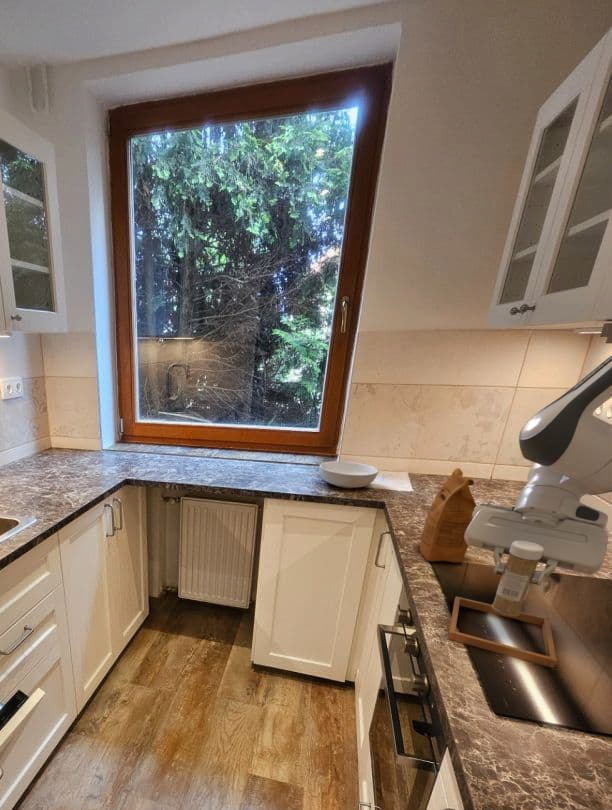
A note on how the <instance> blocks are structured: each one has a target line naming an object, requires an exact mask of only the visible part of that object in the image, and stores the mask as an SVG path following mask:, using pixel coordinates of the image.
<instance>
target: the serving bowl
mask: <svg viewBox="0 0 612 810" xmlns="http://www.w3.org/2000/svg"><path fill="white" fill-rule="evenodd" d="M318 469H319V470H318V471H319V475H320V477H321V478H322V479H323V480H324V481H325V482H327V483H328V484H330V485H332V486H335V487H338V488H343V489H356V488H362V487H363V488H364V487H366V486H369V485H370V484H371V483H373V482H374V481H375V480H376V478H377V476H378V473H379V470H378V468H376V467H374V466H372V465H370V464H365V463H360V462H354V461H346V460H345V461H342V460H332V461H325V462H322V463H320V464H319V467H318Z"/></svg>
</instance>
